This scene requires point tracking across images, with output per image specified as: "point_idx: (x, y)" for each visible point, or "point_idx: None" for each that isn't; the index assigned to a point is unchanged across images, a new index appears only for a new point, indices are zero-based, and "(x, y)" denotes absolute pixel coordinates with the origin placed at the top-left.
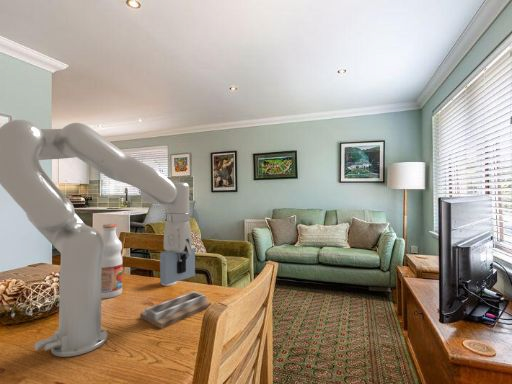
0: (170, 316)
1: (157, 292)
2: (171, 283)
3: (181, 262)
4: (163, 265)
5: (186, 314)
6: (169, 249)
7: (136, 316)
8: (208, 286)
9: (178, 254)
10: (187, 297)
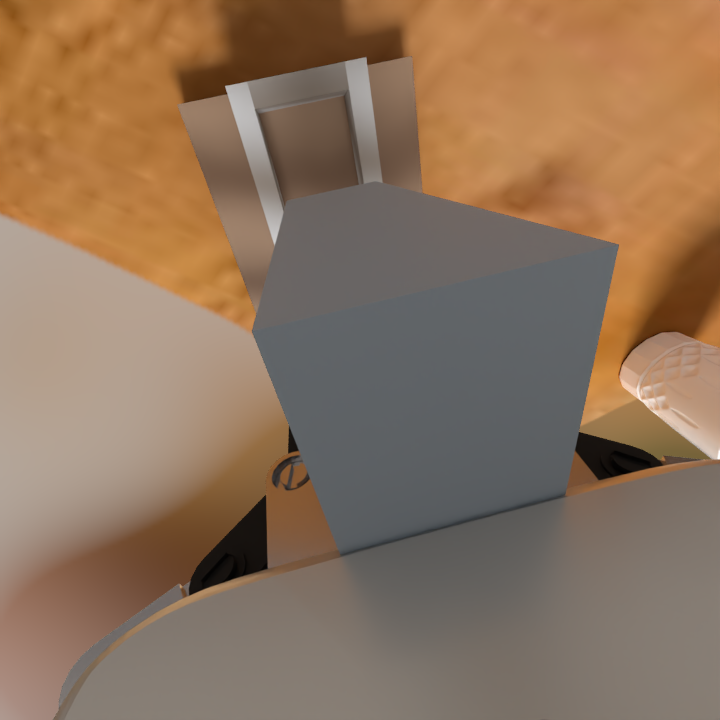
0: (249, 195)
1: (614, 281)
2: (630, 365)
3: (286, 465)
4: (344, 221)
5: (245, 280)
6: (551, 546)
7: (435, 49)
8: None
9: (322, 549)
10: None
